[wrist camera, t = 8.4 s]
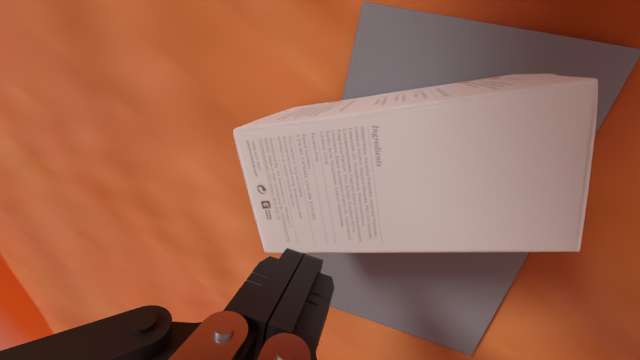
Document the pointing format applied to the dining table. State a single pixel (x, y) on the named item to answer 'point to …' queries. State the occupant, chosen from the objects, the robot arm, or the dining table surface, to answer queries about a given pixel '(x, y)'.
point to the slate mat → (432, 70)
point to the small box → (427, 169)
